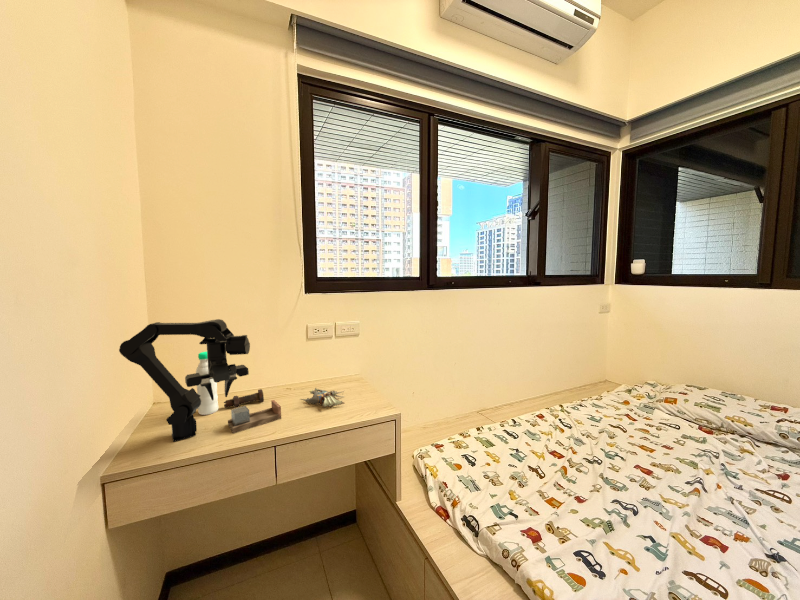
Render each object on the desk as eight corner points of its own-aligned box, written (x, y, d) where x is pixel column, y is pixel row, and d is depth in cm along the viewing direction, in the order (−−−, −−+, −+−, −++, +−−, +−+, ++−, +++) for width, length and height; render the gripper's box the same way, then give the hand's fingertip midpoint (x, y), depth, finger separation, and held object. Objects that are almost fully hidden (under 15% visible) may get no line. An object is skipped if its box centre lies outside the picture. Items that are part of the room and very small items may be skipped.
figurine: (332, 382, 146) (356, 390, 135) (332, 394, 146) (356, 404, 136) (295, 392, 130) (319, 403, 120) (294, 406, 130) (318, 418, 120)
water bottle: (209, 416, 122) (205, 355, 120) (194, 414, 123) (190, 354, 121) (222, 408, 129) (219, 350, 127) (208, 407, 130) (204, 349, 128)
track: (233, 433, 109) (232, 420, 108) (228, 425, 115) (227, 412, 114) (281, 418, 120) (280, 406, 119) (274, 411, 126) (273, 399, 125)
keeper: (235, 427, 110) (234, 414, 110) (231, 422, 114) (231, 409, 114) (249, 422, 114) (249, 410, 113) (246, 418, 117) (245, 405, 117)
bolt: (224, 412, 130) (263, 402, 138) (224, 410, 126) (264, 401, 134) (223, 398, 132) (261, 390, 140) (223, 396, 128) (262, 387, 136)
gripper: (187, 366, 95) (191, 414, 97) (251, 355, 107) (254, 398, 109) (183, 358, 104) (186, 403, 105) (243, 349, 116) (245, 389, 117)
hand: (219, 398), depth 109 cm, fingers open, 4 cm apart
